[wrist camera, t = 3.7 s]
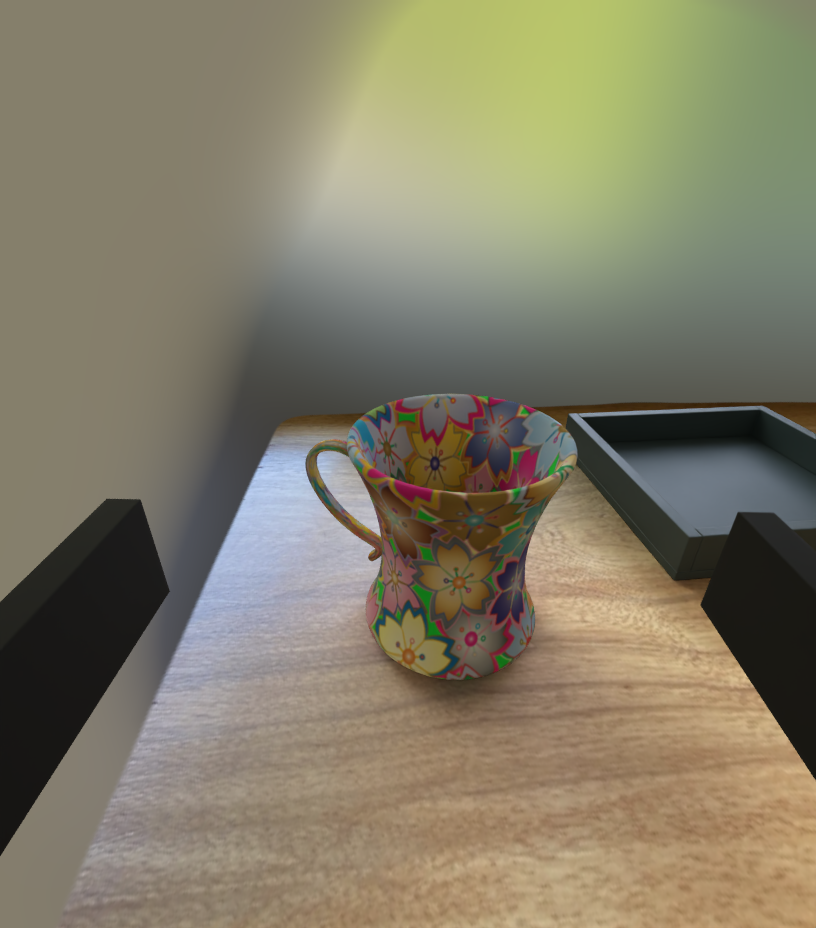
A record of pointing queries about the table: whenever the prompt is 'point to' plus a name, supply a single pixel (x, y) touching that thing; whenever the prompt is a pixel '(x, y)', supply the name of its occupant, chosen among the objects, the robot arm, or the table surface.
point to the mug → (451, 524)
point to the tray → (698, 476)
